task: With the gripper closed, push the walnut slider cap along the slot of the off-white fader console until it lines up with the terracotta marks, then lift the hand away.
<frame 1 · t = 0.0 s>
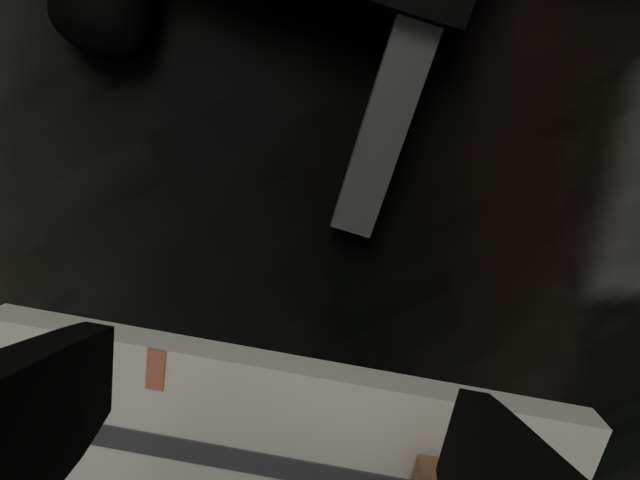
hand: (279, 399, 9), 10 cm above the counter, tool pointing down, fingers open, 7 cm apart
door handle: (331, 4, 16), on the counter
fader console: (281, 442, 21), on the counter
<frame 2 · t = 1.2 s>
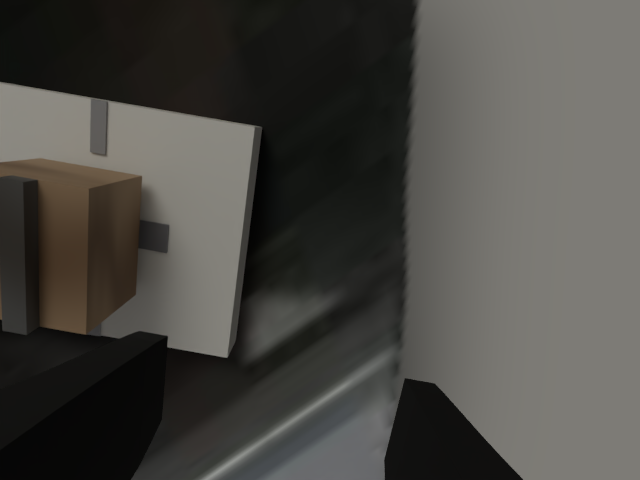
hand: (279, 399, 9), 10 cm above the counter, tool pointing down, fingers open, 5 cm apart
slider cap: (56, 242, 15), point 4 cm above the counter, slide at 0.0 cm
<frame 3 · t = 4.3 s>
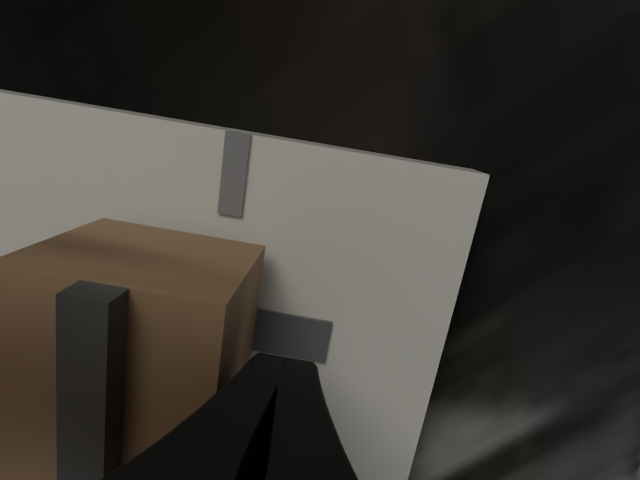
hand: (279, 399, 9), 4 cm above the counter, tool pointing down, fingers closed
slider cap: (139, 368, 9), point 4 cm above the counter, slide at 1.0 cm, touching gripper
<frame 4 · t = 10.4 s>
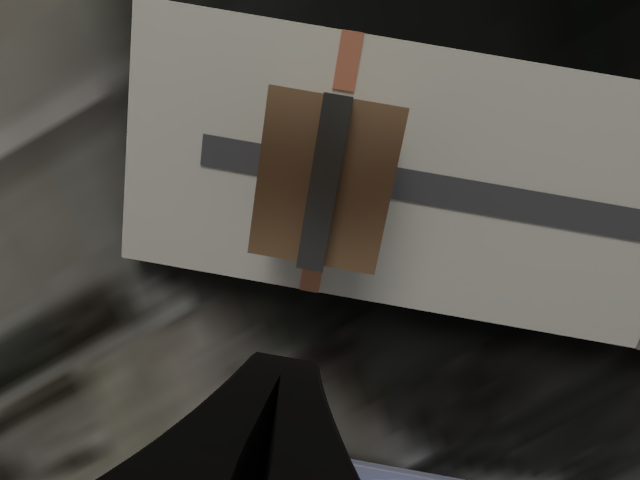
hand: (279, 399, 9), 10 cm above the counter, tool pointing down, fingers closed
slider cap: (326, 178, 14), point 4 cm above the counter, slide at 14.0 cm
fader console: (471, 192, 18), on the counter
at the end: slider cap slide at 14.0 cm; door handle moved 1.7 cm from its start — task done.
